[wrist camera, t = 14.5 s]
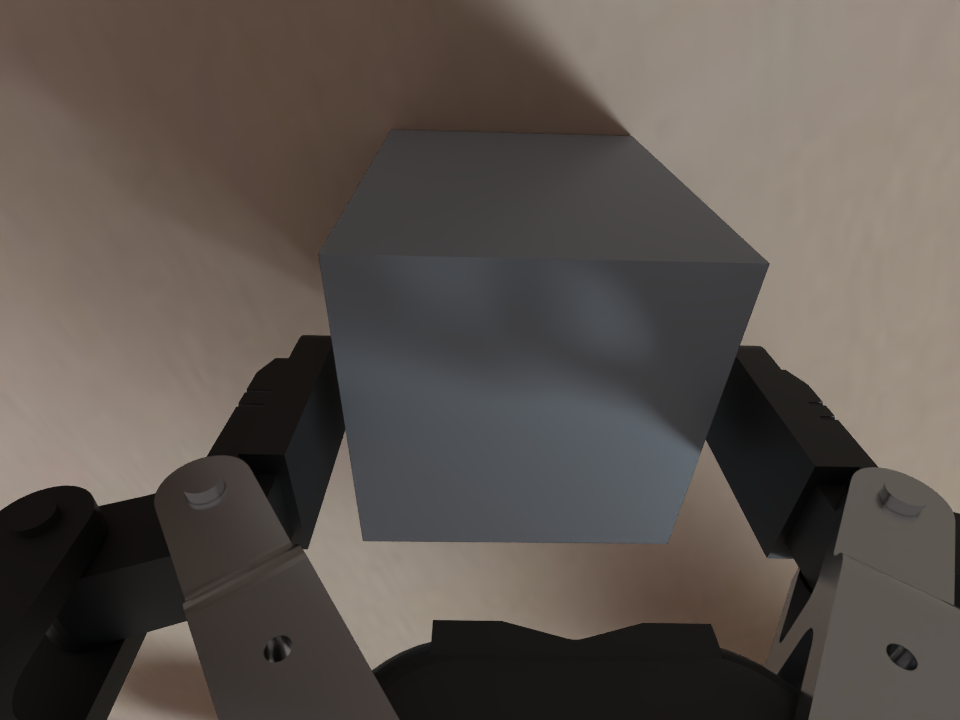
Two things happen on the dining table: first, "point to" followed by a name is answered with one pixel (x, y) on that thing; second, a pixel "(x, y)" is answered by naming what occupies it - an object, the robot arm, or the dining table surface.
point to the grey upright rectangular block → (529, 336)
